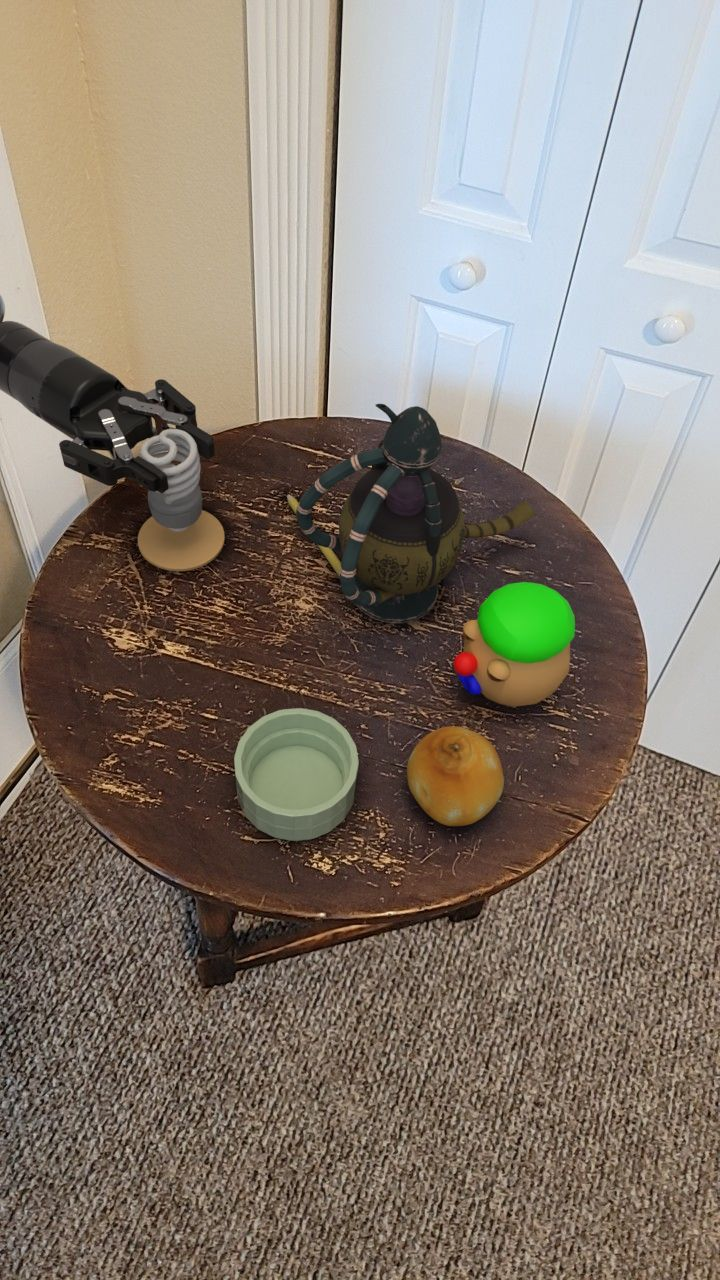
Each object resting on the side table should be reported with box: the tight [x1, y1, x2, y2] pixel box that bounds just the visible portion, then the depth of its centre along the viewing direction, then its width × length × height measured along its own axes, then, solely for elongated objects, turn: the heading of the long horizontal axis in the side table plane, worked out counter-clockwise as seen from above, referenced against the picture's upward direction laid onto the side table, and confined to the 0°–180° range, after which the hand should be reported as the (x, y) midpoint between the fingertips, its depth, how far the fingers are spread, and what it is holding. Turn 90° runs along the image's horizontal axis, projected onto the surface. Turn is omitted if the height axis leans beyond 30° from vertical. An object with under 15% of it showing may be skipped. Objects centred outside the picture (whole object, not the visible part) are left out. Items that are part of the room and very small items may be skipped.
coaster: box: [137, 509, 226, 572], centre depth 98 cm, size 9×9×1 cm
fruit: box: [406, 725, 505, 827], centre depth 79 cm, size 8×8×8 cm
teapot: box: [295, 403, 538, 624], centre depth 87 cm, size 12×25×23 cm, turn 118°
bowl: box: [233, 707, 360, 842], centre depth 79 cm, size 10×10×5 cm
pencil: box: [285, 492, 341, 578], centre depth 99 cm, size 1×14×1 cm, turn 29°
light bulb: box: [139, 429, 203, 532], centre depth 92 cm, size 6×6×12 cm
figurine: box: [453, 581, 576, 708], centre depth 84 cm, size 11×10×12 cm
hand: (188, 467), depth 88 cm, fingers closed on light bulb, 5 cm apart
